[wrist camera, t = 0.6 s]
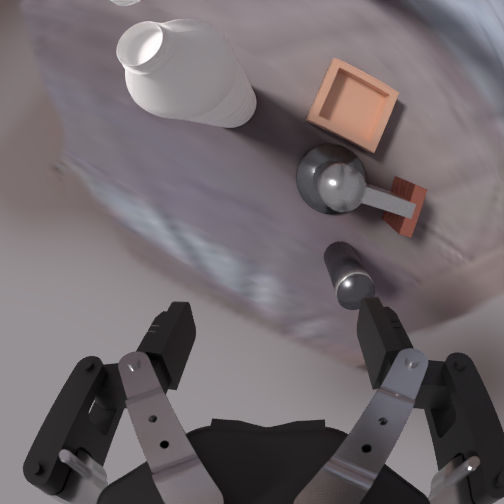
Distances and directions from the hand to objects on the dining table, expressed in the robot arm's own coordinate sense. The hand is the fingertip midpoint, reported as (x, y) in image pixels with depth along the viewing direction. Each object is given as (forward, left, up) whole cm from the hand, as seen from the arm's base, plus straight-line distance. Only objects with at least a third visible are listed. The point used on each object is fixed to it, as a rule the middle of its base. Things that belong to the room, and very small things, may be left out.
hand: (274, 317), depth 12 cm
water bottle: (-10, -10, -25) cm, 29 cm away
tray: (-15, +4, -25) cm, 30 cm away
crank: (-6, +9, -24) cm, 26 cm away
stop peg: (+4, +12, -25) cm, 28 cm away
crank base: (-5, +6, -25) cm, 26 cm away
